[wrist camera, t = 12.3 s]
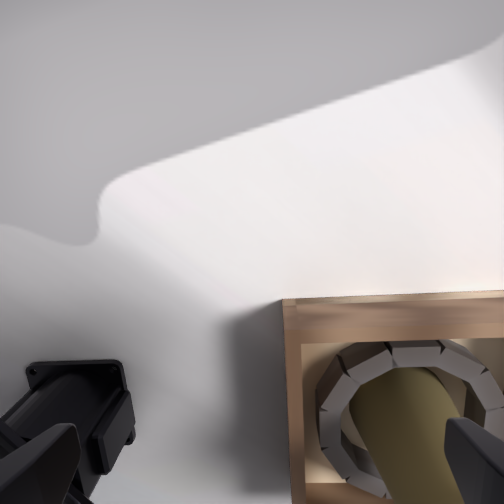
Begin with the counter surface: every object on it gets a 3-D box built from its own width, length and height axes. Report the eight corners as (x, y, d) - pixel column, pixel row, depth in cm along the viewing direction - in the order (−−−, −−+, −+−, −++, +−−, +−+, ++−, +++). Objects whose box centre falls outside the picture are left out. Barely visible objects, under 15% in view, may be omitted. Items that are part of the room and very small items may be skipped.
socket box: (290, 479, 25) (294, 537, 21) (282, 299, 21) (284, 330, 17) (492, 478, 24) (535, 539, 20) (519, 289, 20) (577, 320, 16)
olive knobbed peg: (461, 421, 22) (644, 671, 11) (373, 456, 23) (462, 714, 12) (424, 345, 21) (589, 545, 10) (332, 386, 22) (391, 605, 11)
